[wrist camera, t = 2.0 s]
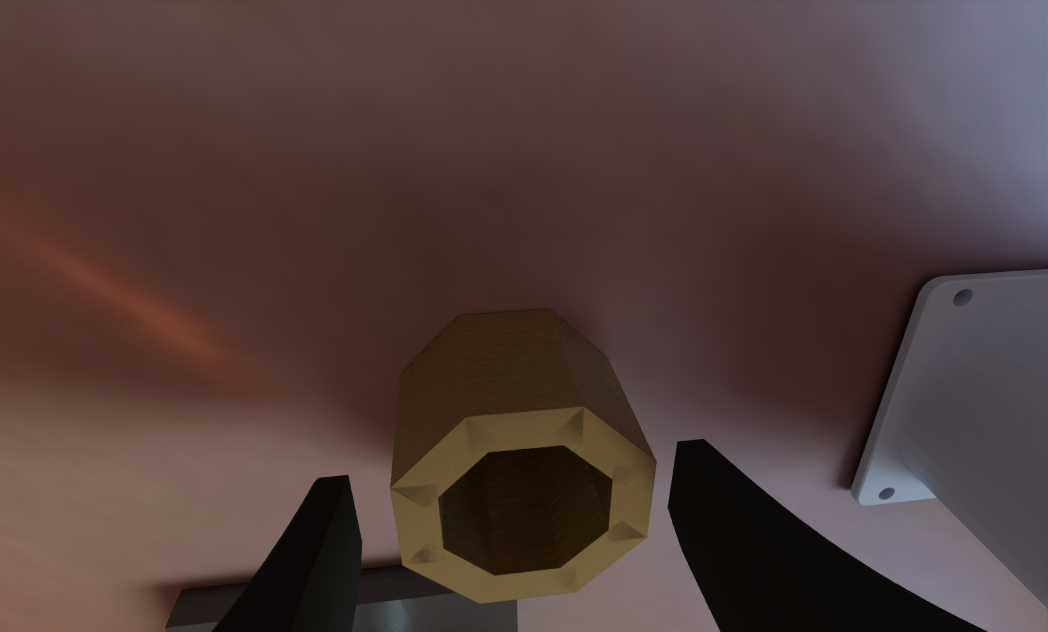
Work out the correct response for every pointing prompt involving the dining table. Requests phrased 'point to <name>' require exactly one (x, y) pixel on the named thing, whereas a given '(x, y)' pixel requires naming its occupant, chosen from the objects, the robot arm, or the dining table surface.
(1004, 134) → the dining table surface
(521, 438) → the ring
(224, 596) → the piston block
